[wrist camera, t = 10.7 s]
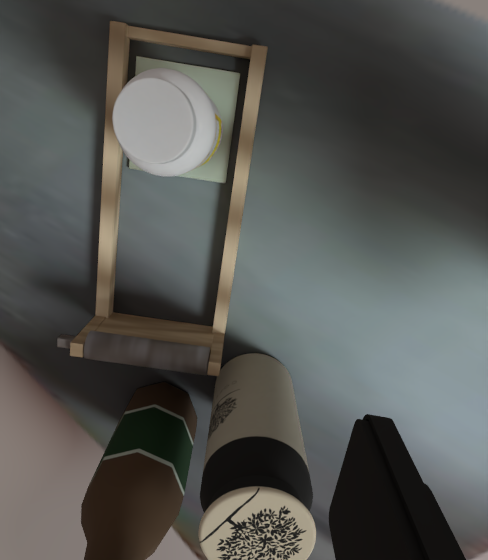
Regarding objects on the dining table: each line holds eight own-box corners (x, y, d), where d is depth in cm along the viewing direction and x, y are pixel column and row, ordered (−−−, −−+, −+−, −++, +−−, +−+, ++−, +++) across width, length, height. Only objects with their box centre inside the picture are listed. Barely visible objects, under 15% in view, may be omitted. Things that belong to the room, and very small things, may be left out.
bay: (98, 23, 34) (59, -10, 27) (266, 51, 35) (271, 25, 28) (85, 324, 42) (52, 359, 35) (223, 343, 42) (218, 382, 35)
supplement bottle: (132, 106, 36) (72, 85, 23) (204, 73, 35) (180, 33, 23) (166, 181, 38) (127, 198, 25) (235, 151, 37) (228, 154, 24)
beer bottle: (213, 416, 45) (178, 693, 22) (159, 454, 47) (73, 750, 24) (165, 365, 43) (72, 609, 20) (110, 406, 45) (-34, 675, 22)
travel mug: (307, 390, 44) (345, 545, 27) (248, 431, 46) (249, 603, 28) (258, 336, 42) (266, 465, 25) (199, 381, 44) (168, 532, 27)
